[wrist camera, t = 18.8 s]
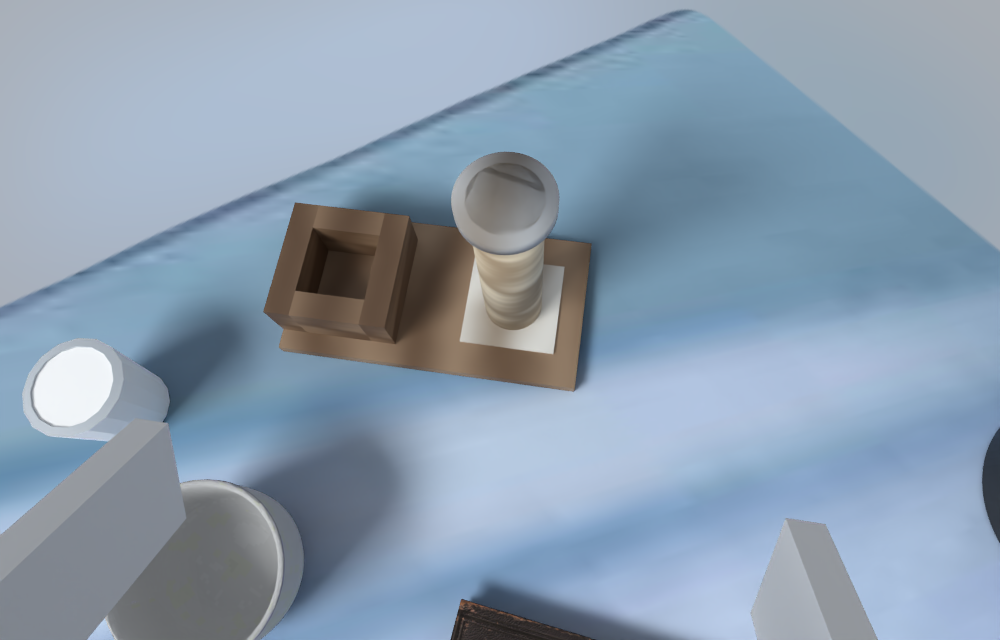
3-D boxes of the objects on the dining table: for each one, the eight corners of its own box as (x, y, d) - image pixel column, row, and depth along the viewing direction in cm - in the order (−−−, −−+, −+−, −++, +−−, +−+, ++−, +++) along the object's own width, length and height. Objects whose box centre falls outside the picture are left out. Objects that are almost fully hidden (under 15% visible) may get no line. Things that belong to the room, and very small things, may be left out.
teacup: (273, 458, 47) (224, 443, 39) (351, 583, 44) (314, 593, 36) (105, 579, 44) (18, 588, 37) (175, 721, 41) (96, 762, 34)
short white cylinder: (105, 468, 47) (36, 457, 40) (78, 391, 49) (8, 368, 42) (190, 422, 48) (136, 403, 41) (160, 348, 50) (104, 319, 43)
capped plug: (554, 273, 49) (565, 157, 34) (545, 343, 47) (552, 253, 32) (482, 265, 50) (460, 147, 35) (470, 334, 48) (442, 240, 33)
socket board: (590, 248, 51) (596, 219, 46) (573, 391, 47) (578, 375, 43) (320, 216, 53) (300, 185, 48) (283, 350, 49) (257, 331, 45)
